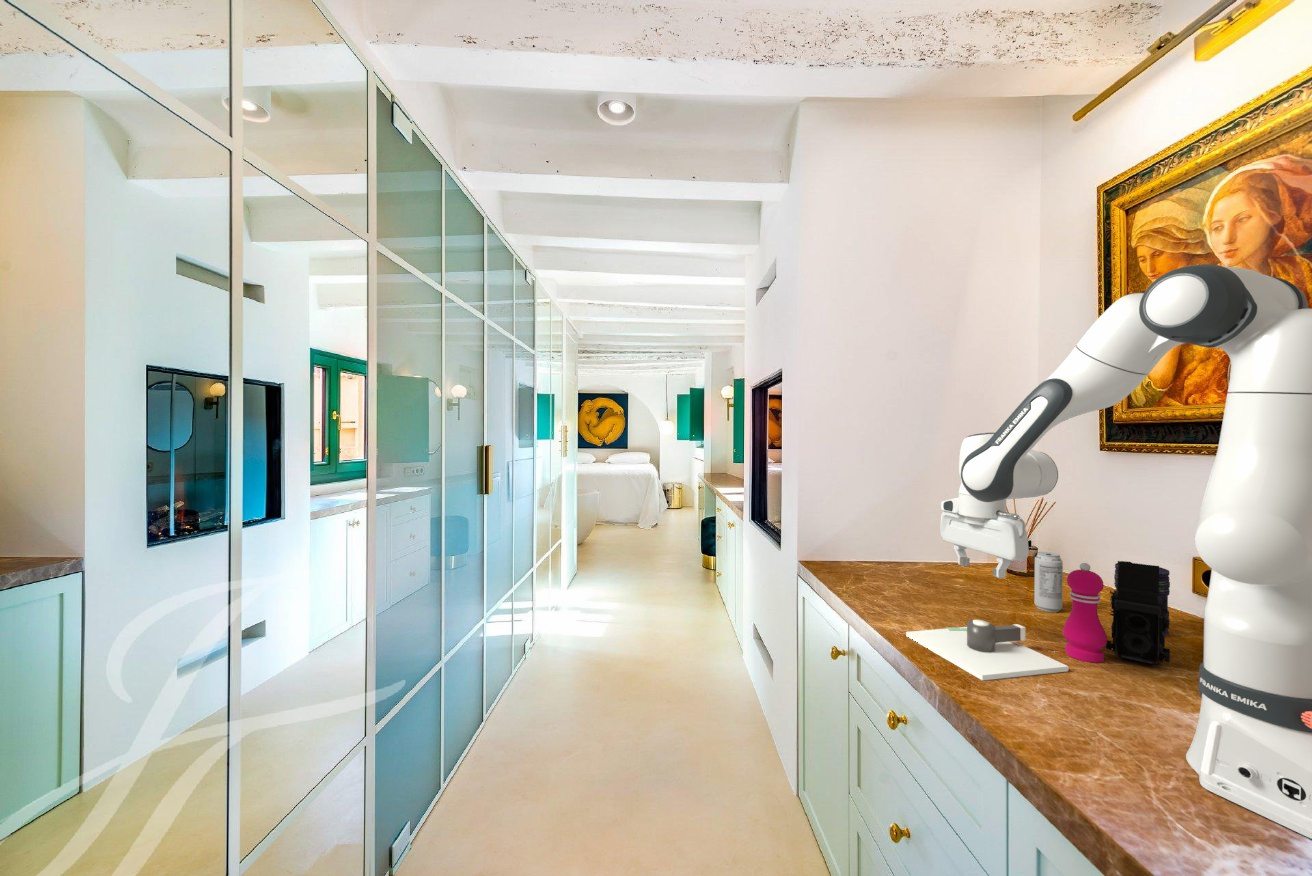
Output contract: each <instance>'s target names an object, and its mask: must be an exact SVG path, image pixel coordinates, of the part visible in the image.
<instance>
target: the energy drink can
mask: <svg viewBox="0 0 1312 876" xmlns="http://www.w3.org/2000/svg"><path fill="white" fill-rule="evenodd" d="M1063 571H1064V570H1063V560H1062V558H1061V556H1060V554H1059V553H1056V552H1049V551H1037V554H1036V556H1035V557H1034V588H1033V589H1034V596H1033V597H1034V598H1033V599H1034V602H1033V603H1034V605H1035V606H1036V608H1037V609H1038V610H1041V611H1043V612H1048V613H1060V610H1062V609H1063V583H1064V581H1063V579H1064V578H1063Z"/></svg>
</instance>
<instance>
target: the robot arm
mask: <svg viewBox="0 0 1312 876" xmlns="http://www.w3.org/2000/svg"><path fill="white" fill-rule="evenodd" d="M1308 307H1309V305H1308V300H1307V298H1306V296H1305V294H1304V293H1303V291H1302V290H1301V289H1300V288H1299V287H1298V286H1297V285H1295V284H1293V283H1292V282H1290V281H1288V280H1287V279H1284V278H1280V277H1278V276H1271V275H1267V274H1263V273H1261V272H1258V271H1256V270H1254V269H1250V268H1243V267H1238V266H1222V265H1219V264H1213V263H1212V264H1211V263H1204V264H1194V265H1193V264H1192V265H1187V266H1183V267H1179V268H1176V269H1173V270H1170V271H1168V272H1166V273H1164V274H1163V275H1161V276H1159V277H1158V278H1157V279H1155V280H1153V282H1152V283H1151V284H1150V285H1149V286H1148V287H1147V288H1146V290H1145V291H1144V292H1136V293H1130V294H1126V295H1124V296H1123V295H1122V297H1120V298H1118V299H1116V301H1114V302H1113V303H1112V304H1111V305H1110V306H1109V307H1108V308H1107V309H1106V310H1104V311H1103V312H1102V314H1101V315H1100V316H1098V318H1097V319H1096V320H1095V321H1094V322H1093V323H1092V324H1091V326H1090V327H1089V328H1087V330H1086V332H1085V333H1084V335H1083V336H1081V338H1080V339H1079V341H1078V342H1077V343H1076V345H1075V346H1074V348H1073V349H1072V350H1071V352H1069V354H1068V355H1067V356H1066V358H1065V359H1064V360H1063V361H1062V362H1061V363H1060V364H1059V366H1057V368H1056V369H1055V370H1054V371H1053V372H1052V373H1051V374H1050V375H1049V376H1048V377H1047V378H1045V380H1044V381H1042V382H1041V383H1040V384H1038V386H1037V387H1035V388H1034V389H1032V391H1031V392H1030V393H1029V394H1028V395H1027V396H1026V397H1025V398H1024V399H1023V400H1022V402H1021V403H1019V404H1018V406H1017V407H1016V408H1015V409H1014V410H1013V412H1012V413H1011V414H1010V415H1009V416H1008V417H1007V418H1006V420H1005V421H1004V422H1003V423H1002V424H1001V425H1000V427H999V428H998V429H997V430H996V432H985V433H981V432H980V433H975V434H972V435H967V436H966V437H965V438H964V439H963V440H962V442H961V444H960V448H959V458H958V476H959V479H960V485H959V488H958V493H957V494H958V496H957V497H954V498H950V499H947V500H942V501H941V502H940V510H941V511H942V512H941V514H940V522H939V527H940V528H939V529H940V530H939V533H940V537H941V539H942V540H943V542H946V543H950V544H953V550H954V552H955V555H956V556H957V564H958V565H959V566H962V567H969V566H970V564H971V563H970V562H971V561H970V559H971V558H970V557H969V556H967V553H966V550H967V549H971V550H974V551H977V552H981V553H984V554H988V555H991V556H995V557H996V562H998V564H997V566H996V567H992V576H993V577H995V578H998V579H1005V578H1006V577H1007V571H1006V570H1008V568H1009V566H1010V565H1011V564H1012V561H1014V562H1016V561H1025V560H1026V559H1028V557H1029V556H1030V555H1029V553H1030V550H1029V539H1028V534H1027V530H1026V522H1025V520H1023V518H1022V517H1020V515H1019V514H1017V513H1009V512H1007V500H1015V499H1017V500H1018V499H1028V498H1030V499H1031V498H1037V497H1041V496H1046V495H1048V494H1049V493H1051V492H1052V491H1053V490H1054V489H1055V487H1056V485H1057V483H1058V479H1059V470H1058V467H1057V464H1056V463H1055V460H1054V459H1053V458H1052V457H1051V456H1049V455H1048V454H1047V453H1045V452H1042V451H1037V450H1034V449H1033V448H1034V447H1035V446H1036V445H1037V444H1038V443H1039V441H1041V439H1043V437H1044V436H1045V435H1046V434H1047V433H1048V432H1049V431H1050V430H1052V429H1053V428H1055V427H1056V426H1058V425H1059V424H1061V423H1062V422H1065V421H1067V420H1069V419H1072V418H1075V417H1078V416H1081V415H1085V414H1088V413H1092V412H1096V411H1099V410H1103V409H1108V408H1111V407H1112V406H1116V405H1117V404H1119V403H1120V402H1122V401H1123V400H1124V399H1126V398H1127V397H1128V396H1129V395H1130V394H1132V393H1133V392H1134V391H1135V390H1136V389H1137V388H1138V387H1139V386H1140V385H1141V384H1142V382H1143V381H1144V380H1145V379H1146V377H1147V376H1149V374H1151V372H1152V371H1153V369H1154V368H1155V367H1156V366H1157V365H1158V363H1159V362H1160V361H1161V359H1162V358H1163V357H1164V356H1165V355H1166V354H1167V353H1168V352H1169V351H1171V350H1172V349H1174V348H1175V347H1178V346H1180V345H1181V346H1182V345H1184V344H1189V345H1193V346H1198V347H1203V348H1210V349H1211V348H1214V349H1221V350H1222V351H1223V352H1225V353H1226V354H1227V356H1228V357H1229V360H1230V367H1231V369H1230V377H1229V383H1228V389H1227V394H1226V399H1225V406H1224V411H1223V418H1222V424H1221V428H1220V433H1219V434H1220V435H1219V441H1218V446H1217V450H1216V453H1215V454H1216V455H1215V458H1214V461H1213V464H1212V467H1211V470H1210V473H1209V476H1208V481H1207V482H1206V483H1207V484H1206V488H1205V491H1204V495H1203V497H1202V502H1201V504H1200V510H1199V513H1198V514H1199V515H1198V517H1197V523H1196V527H1195V531H1194V538H1193V539H1194V545H1195V550H1196V551H1197V553H1198V555H1199V557H1200V558H1201V559H1202V561H1203V562H1204V563H1205V564H1206V565H1207V566H1208V567H1209V569H1211V570H1210V571H1211V572H1210V579H1209V585H1208V592H1207V598H1206V600H1205V601H1206V602H1205V605H1204V610H1203V661H1202V662H1200V664H1199V666H1198V668H1199V669H1198V687H1197V688H1198V693H1199V697H1200V700H1201V701H1200V702H1201V703H1200V709H1199V716H1198V720H1197V726H1196V729H1195V733H1194V736H1193V739H1192V742H1191V744H1190V746H1189V748H1188V750H1187V752H1185V753H1186V754H1185V758H1186V761H1187V763H1188V765H1189V766H1190V767H1191V768H1192V769H1193V770H1194V771H1195V773H1197V775H1198V779H1199V784H1200V785H1201V787H1202V788H1204V789H1205V790H1207V791H1209V792H1211V793H1213V794H1215V795H1218V796H1219V797H1222V798H1224V799H1226V800H1228V801H1230V802H1232V803H1235V804H1236V805H1239V806H1240V807H1243V808H1245V809H1247V810H1249V811H1251V812H1254V813H1255V814H1258V815H1260V816H1262V817H1264V818H1267V819H1268V820H1270V821H1272V822H1275V823H1277V824H1279V825H1281V826H1284V827H1285V828H1287V829H1290V830H1291V831H1294V832H1297V833H1298V834H1300V835H1301V836H1305V837H1306V838H1309V839H1311V840H1312V308H1308Z"/></svg>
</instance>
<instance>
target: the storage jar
mask: <svg viewBox="0 0 1312 876" xmlns="http://www.w3.org/2000/svg"><path fill="white" fill-rule="evenodd" d="M1114 568H1115V569H1114V574H1113V575H1114V582H1113V584H1114V587H1115V590H1116V591H1117V574H1118V562H1116V563H1115V564H1114ZM1170 588H1171V582H1170V570H1169V569H1167V568H1163V567H1161V566H1159V597H1162V600H1163V599H1164V600H1165V599H1166V600H1167V602H1165V605H1166V608H1165V607H1164V606H1165V605H1163V609H1167V614H1166V615H1165V614H1163V615H1164V616H1165V619H1168V620H1169V625H1170V620H1171V619H1170V611H1169V608H1168V607H1169V602H1168V600H1169V597H1168V596H1169V595H1170V592H1171V591H1170ZM1163 633H1164V636H1165V637H1168V636H1169V635H1170V633H1169V629H1168V628H1165V631H1163Z"/></svg>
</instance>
